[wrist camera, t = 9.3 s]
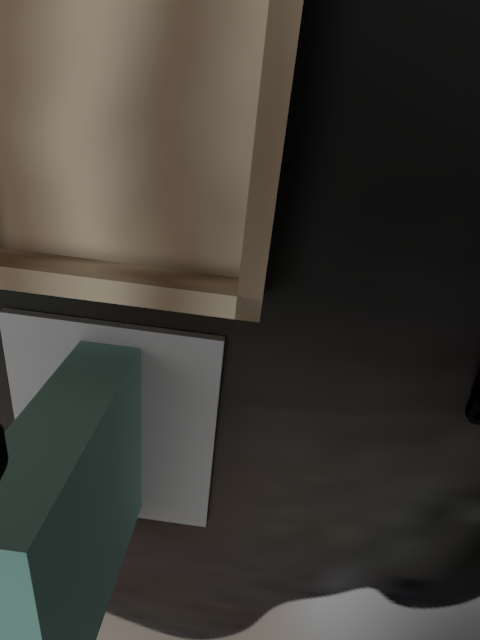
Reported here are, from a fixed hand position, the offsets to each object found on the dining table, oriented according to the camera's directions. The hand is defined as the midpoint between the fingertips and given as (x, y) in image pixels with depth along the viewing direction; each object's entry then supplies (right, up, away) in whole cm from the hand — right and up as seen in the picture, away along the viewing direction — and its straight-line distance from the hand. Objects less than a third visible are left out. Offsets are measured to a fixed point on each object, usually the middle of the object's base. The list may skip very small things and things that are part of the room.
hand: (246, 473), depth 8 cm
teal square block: (-7, -3, +16) cm, 18 cm away
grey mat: (-7, -3, +17) cm, 18 cm away
